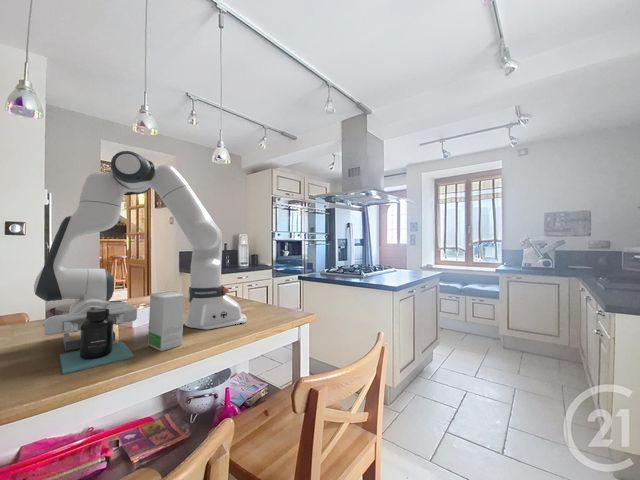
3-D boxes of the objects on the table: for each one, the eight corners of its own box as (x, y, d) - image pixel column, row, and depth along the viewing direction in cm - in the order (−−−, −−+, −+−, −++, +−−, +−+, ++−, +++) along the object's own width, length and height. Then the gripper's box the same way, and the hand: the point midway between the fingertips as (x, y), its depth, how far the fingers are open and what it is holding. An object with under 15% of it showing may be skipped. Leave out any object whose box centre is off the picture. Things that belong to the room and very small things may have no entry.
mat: (59, 356, 74) (59, 354, 74) (122, 343, 84) (122, 341, 84) (62, 374, 64) (62, 371, 64) (133, 357, 74) (133, 354, 74)
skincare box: (147, 345, 82) (148, 293, 82) (169, 339, 88) (170, 290, 88) (161, 352, 78) (162, 296, 78) (184, 344, 83) (185, 293, 83)
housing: (63, 341, 85) (63, 333, 85) (109, 333, 93) (109, 325, 93) (65, 350, 78) (65, 342, 78) (114, 340, 86) (115, 332, 86)
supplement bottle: (94, 361, 70) (95, 314, 70) (72, 358, 71) (73, 312, 71) (119, 351, 76) (119, 307, 77) (98, 349, 78) (99, 306, 78)
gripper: (42, 310, 76) (42, 320, 66) (130, 300, 90) (141, 307, 81) (42, 333, 76) (42, 347, 66) (130, 319, 90) (141, 328, 80)
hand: (97, 325), depth 73 cm, fingers open, 8 cm apart
